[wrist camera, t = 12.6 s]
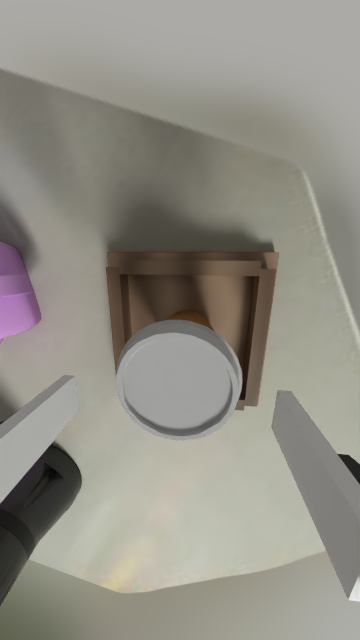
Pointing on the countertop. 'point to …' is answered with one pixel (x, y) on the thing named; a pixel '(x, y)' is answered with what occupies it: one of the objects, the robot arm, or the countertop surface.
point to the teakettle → (15, 294)
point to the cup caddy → (198, 300)
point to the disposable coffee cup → (179, 377)
